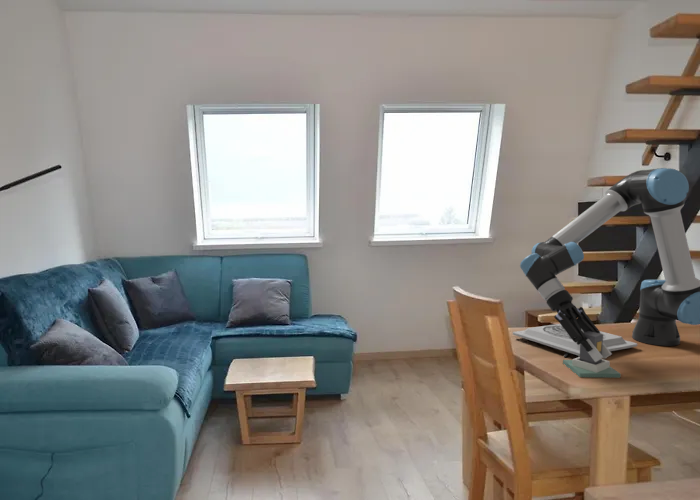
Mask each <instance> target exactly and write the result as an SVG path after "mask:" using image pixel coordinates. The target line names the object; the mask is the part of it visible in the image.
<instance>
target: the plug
mask: <svg viewBox="0 0 700 500" xmlns="http://www.w3.org/2000/svg"><path fill="white" fill-rule="evenodd" d="M584 335H585V337H586V338H587V339H590V341H591V342H592V343H593V345H594V346H595V347H596V348H597V350H598V351H599V352H600V354H601V355H602V344H603V334H600V333H595V332H591V331H587V332H584ZM587 339H586V340H587ZM579 357H580V361H584V362H587V363H591V364H594V365H597V364H599V363H601V362H602V359H603V358H602V359H600V360H599V361H597V362H595V361H594V360H593V359H592V357H591V356H590V355H589V353H588V352H587V351H586V349H585V348H584V347H583V345H582V344H580V356H579Z"/></svg>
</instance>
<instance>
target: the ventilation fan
mask: <svg viewBox="0 0 700 500" xmlns="http://www.w3.org/2000/svg"><path fill="white" fill-rule="evenodd" d="M581 330H582V329H581ZM582 331H583V330H582ZM599 331H600V330H599ZM583 333H584V331H583ZM600 334H603V343H604V344H605V346H606V347H607V348H608V350H609V351H610V352H615V351H620V350H625V349H630V348H635V347H638V343H637V342H633V341H630V340H625V338H623V336H621V335H617V334H612V333H608V332H604V331H602V330H601V331H600ZM512 336H516V337H519V338H522V339H524V340H529V341H532V342H535V343H538V344H541V345H543V346H548V347H551V348H553V349H555V350H560V351H564V352H565V353H566V352H569V354H573V355H576V356H578V357H580V344H579V345H578V344H577V342H576V343H575V342H574V341H573V340H572V338H571V337H570V336H569V334H568V333H567V332H566V331H565V329H564V328H563V327H562V325H561V324H560V323H556V324H549V325H542V326H535V327H527V328H526V329H524V330H517V331H512Z"/></svg>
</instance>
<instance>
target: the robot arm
mask: <svg viewBox="0 0 700 500" xmlns="http://www.w3.org/2000/svg"><path fill="white" fill-rule="evenodd" d="M689 187H690V184H689V181H688V178H687V177H686V175H685V174H684V173H682V172H681V171H679V170H678V169H676V168H670V167H668V168H667V167H659V168H651V169H642V170H636V171H633V172H631V173H629V174H627V175H626V176H625V177H623V178H622V179H620V180H619V181H617V182H616V183H615V184H613V185H612V186H611V187H610V188H608V189H607V190H606V191H605V192H604V193H605V194H604V196H603V197H602V198H600V199H599V200H598V201H596V202H595V203H593V204H592V205H591V206H590V207H588V208H587V209H586V210H585V211H583V212H582V213H581V214H579V215H578V216H577V217H575V218H574V219H573V220H572V221H570V222H569V223H568V224H566V225H564V227H562V228H561V229H560V230H559V231H557V232H556V233H554V234H553V235H552V236H551V237H549V238H548V239H547V240H545V241H542V242H538V243H535V244H534V245H533V247H532V248H531V254H528V255H527V256H526V257H524V258H523V259H522V260H521V262H520V265H519V267H520V269H521V271H522V272H523V274H524V276H525V277H526V278H527V279H528V281H530V283H531V285H533V287H534V288H535V289H536V291H537V292H538V293H539V295H540V297H541V298H542V299H543V300H544V301H546V305H547V306H548V307H549V308H550V310H551V311H552V312H556V313H557V314H555V315H554V316H553V317H554V319H555V320H556V321H557V322H558V324H561V325H562V327H563V328H564V329H565V331H566V332H567V333H568V334H569V336H570V337H571V338H572V340H573V341H574V342H575V343H576V342H577V344H578V345H579V344H582V345H583V347H584V348H585V349H586V351H587V352H588V353H589V355H590V356H591V357H592V359H593V360H594V361H595V362H597V361H599V360H600V359H603V360H606V359H607V358H608V357H610V356H611V355H613V353H612V351H609V350H608V348H607V347H606V346H605V344H604V343H603V344H602V355H601V354H600V352H599V351H598V350H597V348H596V347H595V346H594V345H593V343H592V342H591V341H590V339H587V338H586V337H585V335H584V333H583V331H584V332H587V331H591V332H595V333H600V330H599V329H598V327H597V326H596V325H595V323H594V322H593V321H592V320H591V319H590V317H589V316H588V314H586V311H585V310H584V308H583V307H581V306H579V307H576V305H575V304H573V303H572V302H573V300H574V298H573V296H572V295H571V294H570V293H569V291H568V290H567V289H565V288H566V287H565V286H564V285H563V284H562V282H561V281H560V280H559V279H558V277H557V275H560V273H563V272H564V271H566V270H569V269H571V268H573V267H574V266H577V264H579V263H581V262H582V261H583V260H584V258H585V254H584V252H583V250H582V247H580V245H579V243H580V242H581V241H583V240H584V239H586V238H587V237H588V236H589V235H591V234H592V233H593V232H595V231H596V230H597V229H598V228H601V226H603V225H604V224H605V223H607V222H608V221H609V220H611V219H612V218H613V217H615V216H616V215H617V214H618V213H620V212H626V211H627V210H629V209H630V208H631V207H633V206H637V205H640V204H641V206H642V207H641V208H642V210H643V213H644V214H645V215H647V216H649V217H650V220H651V225H652V226H651V227H652V229H653V234H654V237H655V243H656V246H657V251H658V256H659V260H660V265H661V268H662V272H663V278H664V279H644V280H642V281H641V284H640V289H639V291H640V295H639V310H638V318H637V319H638V320H637V322H636V323H635V326H634V328H633V331H632V335H631V337H632V339H633V340H635V341H637V342H641V343H644V344H648V345H654V346H663V347H673V346H678V345H680V344H681V335H680V331H679V329H678V325H677V323H676V322H677V321H679V322H680V323H682V324H685V325H686V324H687V325H692V326H697V325H700V279H698V278H697V277H696V273H695V270H694V266H693V265H694V264H693V261H692V257H691V253H690V248H689V245H688V244H689V243H688V239H687V235H686V231H685V226H684V222H683V217H682V213H681V210H682V209H683V207H684V205H685V201H684V200H685V199H686V197H687V194H689V191H690V188H689ZM581 329H582V330H583V331H582V330H581ZM586 339H587V340H586Z"/></svg>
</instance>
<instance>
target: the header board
mask: <svg viewBox="0 0 700 500" xmlns="http://www.w3.org/2000/svg"><path fill="white" fill-rule="evenodd" d="M564 364H565V365H566V366H565V365H564ZM562 365H564V366H565V367H566V368H567V369H569V368H570V369H571V370H572V371H571V370H570V369H569V370H570V371H571V372H573V373H574V374H575V373H576V374H577V375H578V377H579V378H609V379H610V378H611V379H612V378H615V379H617V378H618V379H619V378H620V379H621V375H622V374H621V372H619V371H617V370H616V369H615V368H613V367H611V366H610V360H606V359H604V358H602V362H601V363H599V364H597V365H594V364H591V363H587V362H584V361H580V356H578V357H576V358H573V359H563V360H562ZM576 374H575V375H576ZM577 375H576V376H577Z"/></svg>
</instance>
